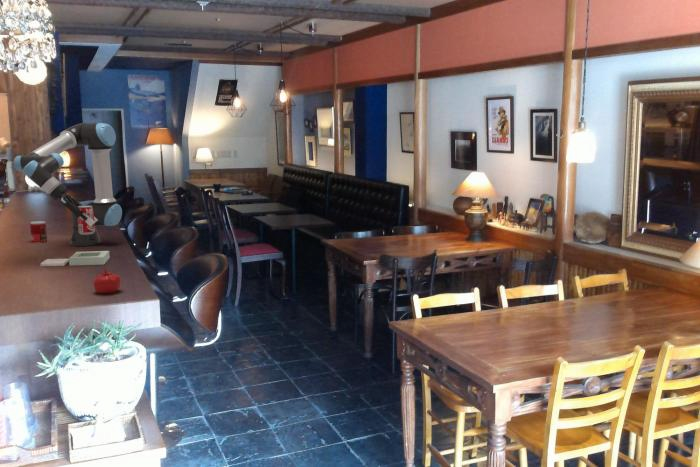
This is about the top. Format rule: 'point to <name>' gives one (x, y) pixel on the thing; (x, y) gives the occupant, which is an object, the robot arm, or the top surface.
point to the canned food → (38, 231)
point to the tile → (54, 262)
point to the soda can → (82, 225)
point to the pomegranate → (107, 282)
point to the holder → (89, 258)
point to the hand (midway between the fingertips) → (94, 223)
